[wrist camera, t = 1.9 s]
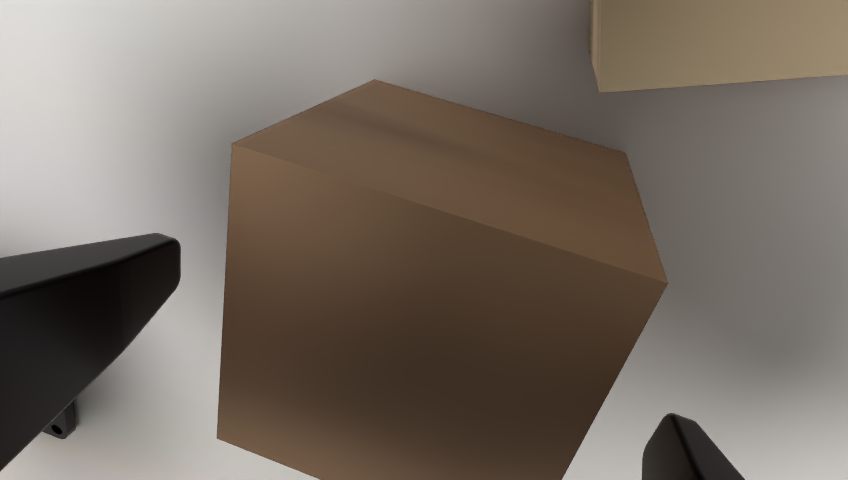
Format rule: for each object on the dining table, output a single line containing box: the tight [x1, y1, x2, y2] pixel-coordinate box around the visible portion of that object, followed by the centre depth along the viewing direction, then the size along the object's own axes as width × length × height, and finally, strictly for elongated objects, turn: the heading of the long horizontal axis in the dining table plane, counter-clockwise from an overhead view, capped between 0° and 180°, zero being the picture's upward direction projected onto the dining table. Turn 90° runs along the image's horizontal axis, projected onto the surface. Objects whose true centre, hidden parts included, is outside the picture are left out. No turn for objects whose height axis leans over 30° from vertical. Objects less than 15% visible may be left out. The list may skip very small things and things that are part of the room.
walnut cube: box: [217, 79, 668, 480], centre depth 11 cm, size 6×6×6 cm
